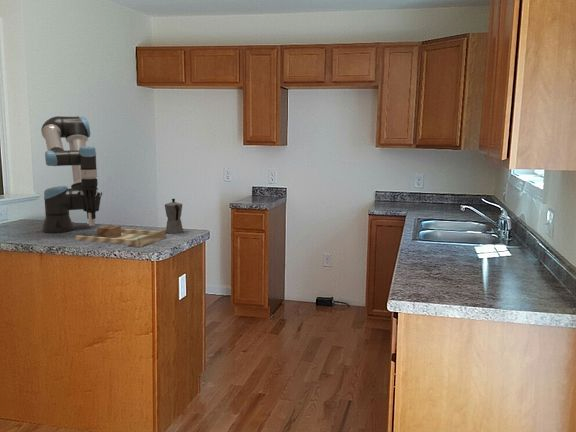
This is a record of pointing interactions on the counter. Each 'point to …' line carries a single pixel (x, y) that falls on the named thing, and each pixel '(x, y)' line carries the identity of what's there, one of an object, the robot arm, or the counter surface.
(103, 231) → the walnut block
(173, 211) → the coffeepot
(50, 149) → the robot arm
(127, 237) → the wooden cutlery tray
